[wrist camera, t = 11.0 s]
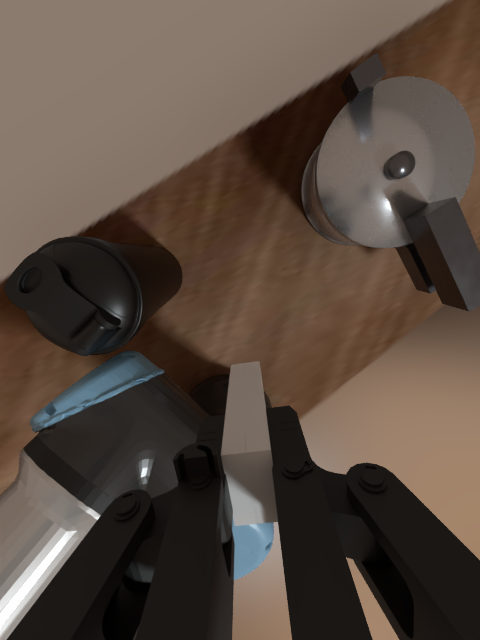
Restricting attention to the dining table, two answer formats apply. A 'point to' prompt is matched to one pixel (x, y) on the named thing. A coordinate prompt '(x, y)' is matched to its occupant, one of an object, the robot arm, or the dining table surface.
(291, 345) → the dining table surface
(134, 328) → the water bottle
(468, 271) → the lid
